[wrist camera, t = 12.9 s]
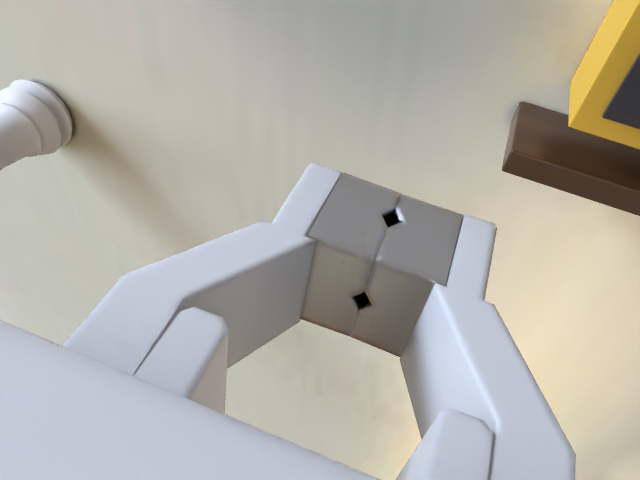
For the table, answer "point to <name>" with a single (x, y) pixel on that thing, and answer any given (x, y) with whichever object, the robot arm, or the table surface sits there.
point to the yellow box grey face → (610, 79)
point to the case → (572, 159)
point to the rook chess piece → (31, 122)
